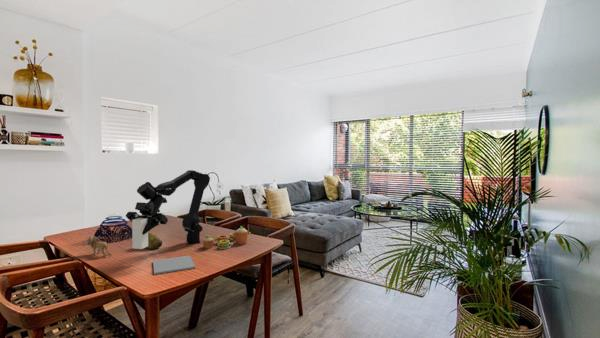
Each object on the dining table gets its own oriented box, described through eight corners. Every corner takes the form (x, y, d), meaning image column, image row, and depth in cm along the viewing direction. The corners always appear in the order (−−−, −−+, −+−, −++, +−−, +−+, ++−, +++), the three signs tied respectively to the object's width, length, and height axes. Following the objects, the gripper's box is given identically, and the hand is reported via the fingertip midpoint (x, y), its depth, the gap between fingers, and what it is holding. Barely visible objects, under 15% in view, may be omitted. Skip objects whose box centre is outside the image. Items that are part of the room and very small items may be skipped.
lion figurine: (84, 254, 146) (83, 236, 146) (94, 251, 151) (94, 234, 151) (106, 258, 141) (106, 239, 141) (116, 254, 147) (116, 236, 146)
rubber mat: (190, 257, 144) (190, 255, 144) (195, 268, 130) (195, 266, 130) (153, 262, 136) (153, 260, 136) (154, 274, 122) (154, 272, 122)
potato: (148, 251, 151) (148, 236, 151) (135, 247, 158) (135, 232, 158) (164, 247, 158) (164, 232, 158) (151, 243, 165) (150, 229, 165)
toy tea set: (235, 237, 180) (235, 221, 180) (253, 242, 171) (253, 225, 170) (197, 247, 159) (197, 229, 159) (215, 253, 150) (215, 234, 150)
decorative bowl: (110, 233, 187) (110, 210, 186) (140, 234, 185) (140, 211, 184) (84, 242, 167) (84, 216, 167) (118, 243, 165) (117, 217, 164)
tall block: (139, 245, 139) (139, 217, 139) (148, 246, 138) (147, 218, 138) (132, 248, 135) (132, 219, 134) (141, 249, 134) (140, 220, 133)
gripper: (128, 194, 141) (109, 223, 131) (163, 195, 138) (147, 225, 127) (140, 208, 149) (123, 236, 139) (174, 209, 146) (159, 238, 135)
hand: (138, 233), depth 135 cm, fingers closed on tall block, 4 cm apart
